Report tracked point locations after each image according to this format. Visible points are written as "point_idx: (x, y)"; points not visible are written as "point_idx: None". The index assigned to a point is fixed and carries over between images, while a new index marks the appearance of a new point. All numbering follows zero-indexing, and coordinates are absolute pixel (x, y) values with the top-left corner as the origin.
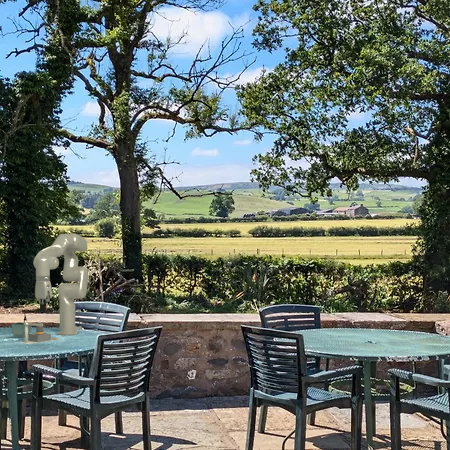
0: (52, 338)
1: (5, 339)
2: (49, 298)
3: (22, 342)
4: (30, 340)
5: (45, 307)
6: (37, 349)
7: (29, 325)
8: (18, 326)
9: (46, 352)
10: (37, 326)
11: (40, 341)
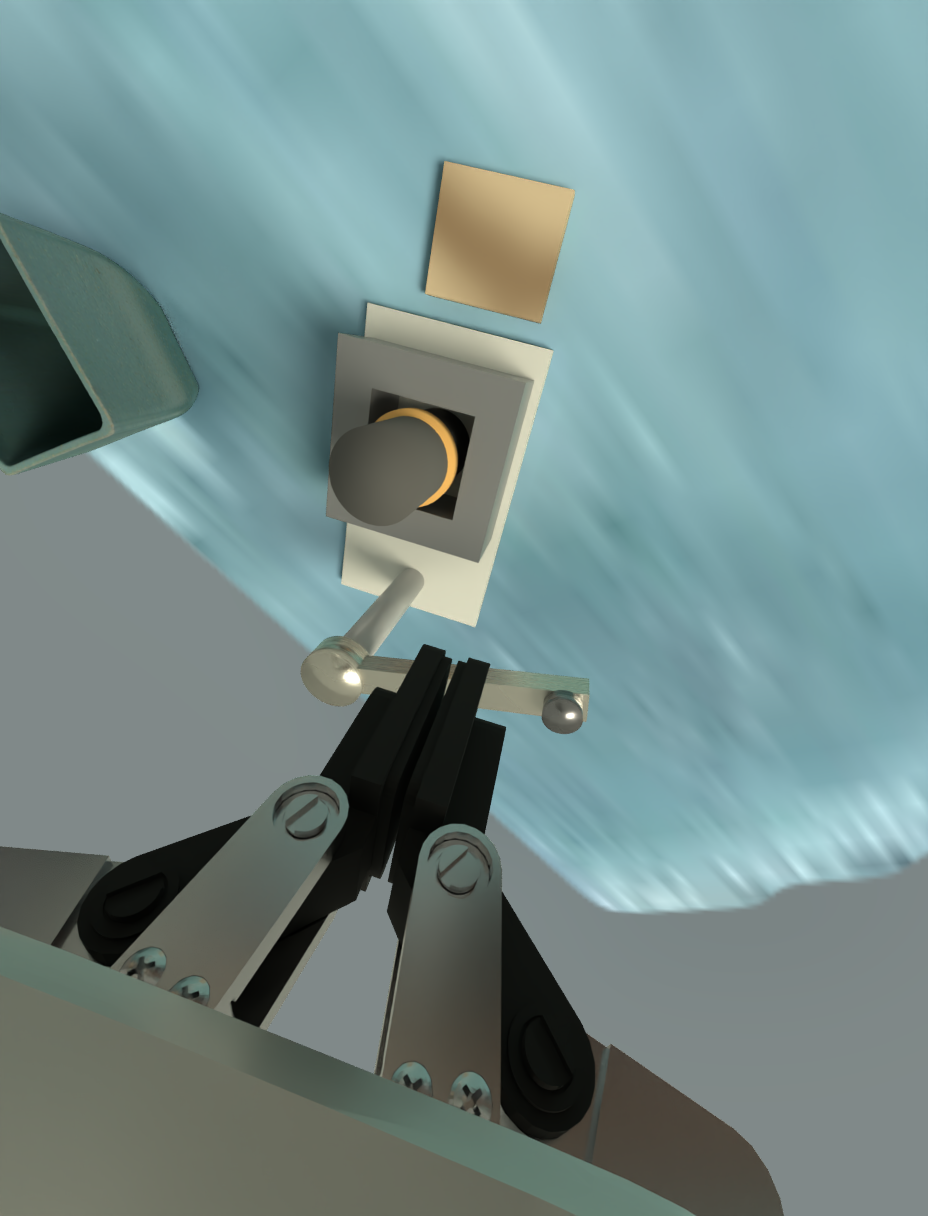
0: (447, 229)
1: (122, 475)
2: (638, 1205)
3: (382, 588)
4: None
5: (496, 767)
6: (675, 748)
7: (58, 284)
8: (81, 450)
9: (818, 822)
10: (383, 522)
11: (498, 513)
